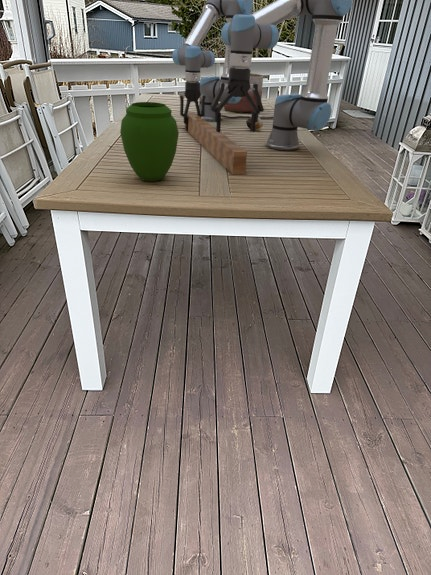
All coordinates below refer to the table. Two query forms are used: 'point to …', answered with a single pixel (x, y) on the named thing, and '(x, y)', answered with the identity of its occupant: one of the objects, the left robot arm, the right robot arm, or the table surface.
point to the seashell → (257, 124)
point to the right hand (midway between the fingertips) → (235, 131)
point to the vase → (149, 139)
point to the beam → (217, 144)
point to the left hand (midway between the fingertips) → (192, 130)
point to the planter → (243, 103)
